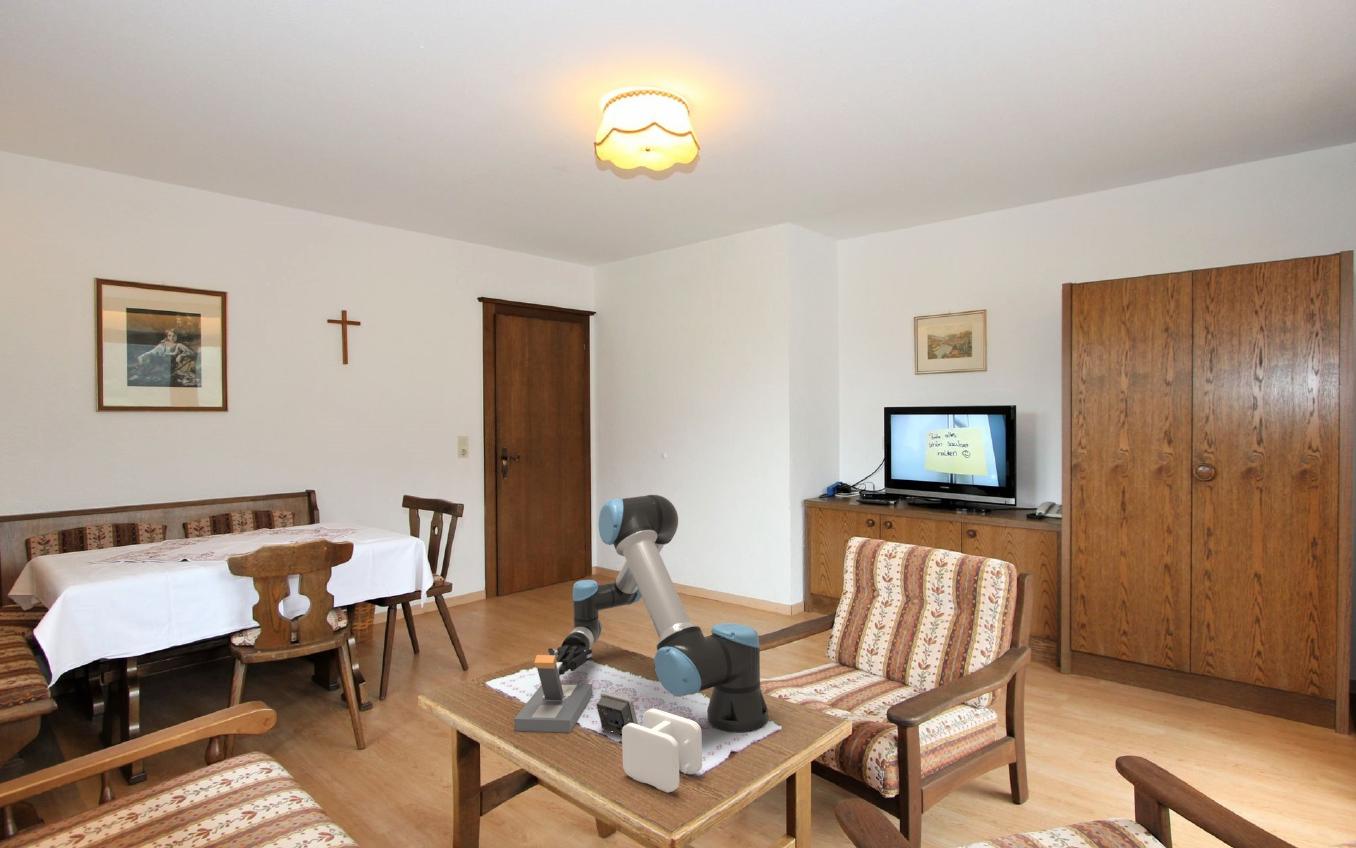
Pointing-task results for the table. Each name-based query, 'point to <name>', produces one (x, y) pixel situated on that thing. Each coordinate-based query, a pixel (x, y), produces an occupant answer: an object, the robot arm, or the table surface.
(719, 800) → the table surface
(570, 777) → the table surface
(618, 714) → the electrical switch
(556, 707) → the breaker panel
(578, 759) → the table surface
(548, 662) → the breaker lever
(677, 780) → the cable organizer
